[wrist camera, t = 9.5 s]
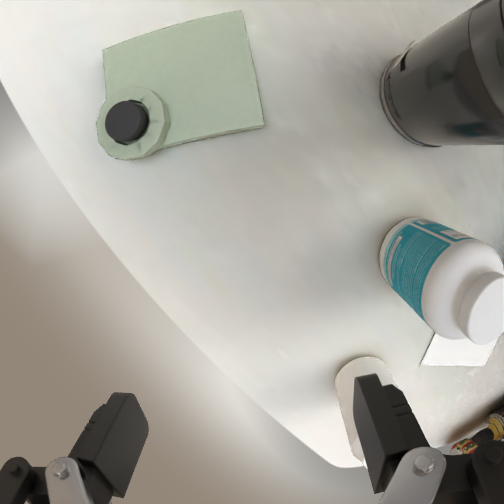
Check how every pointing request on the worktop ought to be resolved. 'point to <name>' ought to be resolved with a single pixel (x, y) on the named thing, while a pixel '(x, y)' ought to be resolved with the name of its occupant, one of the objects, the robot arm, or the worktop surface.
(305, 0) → the worktop surface
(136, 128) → the black cylinder
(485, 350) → the white paper sheet
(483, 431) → the figurine
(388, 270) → the pill bottle
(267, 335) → the worktop surface
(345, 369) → the beverage can
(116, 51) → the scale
